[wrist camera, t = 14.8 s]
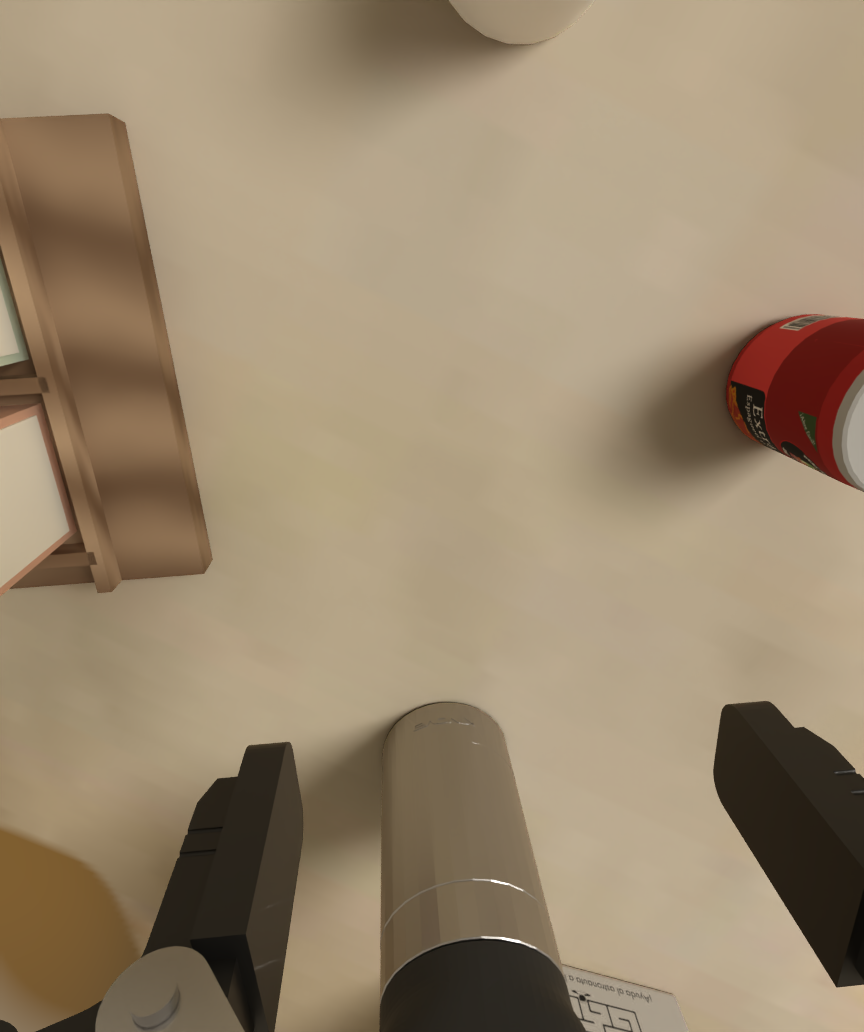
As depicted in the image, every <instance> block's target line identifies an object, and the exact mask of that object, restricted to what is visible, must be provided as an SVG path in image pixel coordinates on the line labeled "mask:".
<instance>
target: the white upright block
mask: <svg viewBox="0 0 864 1032" xmlns="http://www.w3.org/2000/svg"><path fill="white" fill-rule="evenodd" d="M448 1H449V2H450V3H451V5H452V6H453V7H454V8H455V10H456V11H457V12H458V13H459V15H460V16H461V17H462V19H463V20H464V21H465V22H466V23H468V24H469V25H470V26H472V27H473V28H475V29H476V30H477V31H479V32H480V33H481V34H483V35H484V36H486V37H489V38H492V39H495V40H498V41H500V42H503V43H506V44H534V43H537V42H541V41H544V40H547V39H551V38H554V37H556V36H557V35H559V34H560V33H562V32H563V31H565V30H566V29H568V28H569V27H571V26H572V25H574V24H575V23H576V22H577V21H578V20H579V19H580V18H581V16H582V15H583V14H584V13H585V12H586V11H587V10H588V9H589V7H590V6H591V5H592V4H593V3H594V2H595V0H448Z"/></svg>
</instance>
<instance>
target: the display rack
mask: <svg viewBox="0 0 864 1032" xmlns="http://www.w3.org/2000/svg"><path fill="white" fill-rule="evenodd" d="M0 258H1V262H2V265H3V269H4V272H5V276H6V279H7V283H8V286H9V290H10V293H11V297H12V300H13V304H14V307H15V311H16V314H17V318H18V321H19V325H20V328H21V332H22V336H23V339H24V343H25V346H26V350H27V353H28V357H29V359H28V360H24V361H20V362H16V363H12V364H8V365H4V366H0V406H6V405H21V404H36V403H41V406H42V409H43V413H44V416H45V420H46V423H47V427H48V430H49V434H50V437H51V441H52V444H53V448H54V452H55V455H56V459H57V462H58V466H59V469H60V473H61V476H62V480H63V483H64V487H65V491H66V494H67V498H68V501H69V505H70V508H71V512H72V515H73V519H74V522H75V526H76V529H77V532H76V533H74V534H73V535H72V536H71V537H70V538H68V539H67V540H66V541H65V542H64V543H63V544H61V545H60V546H59V547H58V548H57V549H55V550H54V551H53V552H52V553H51V554H50V555H48V556H47V557H46V558H45V559H44V560H42V561H41V562H40V563H39V564H38V565H37V566H35V567H34V568H33V569H32V570H31V571H29V572H28V573H27V574H26V575H25V576H24V577H22V578H21V579H20V580H19V581H18V582H17V583H15V584H14V585H13V586H12V587H11V588H9V589H13V588H26V587H39V586H52V585H65V584H78V583H91V582H95V585H96V588H97V592H98V593H105V592H112V591H113V590H114V589H115V588H116V586H117V585H118V584H119V583H120V582H121V581H122V580H130V579H143V578H156V577H169V576H182V575H195V574H204V573H205V571H206V570H207V568H208V566H209V565H210V563H211V561H212V560H213V559H212V554H211V549H210V544H209V539H208V534H207V529H206V524H205V519H204V514H203V510H202V505H201V500H200V495H199V490H198V485H197V480H196V475H195V470H194V465H193V460H192V455H191V450H190V445H189V440H188V435H187V430H186V425H185V420H184V415H183V410H182V405H181V400H180V395H179V390H178V385H177V380H176V375H175V370H174V365H173V360H172V355H171V350H170V345H169V340H168V335H167V330H166V325H165V320H164V315H163V310H162V305H161V300H160V295H159V290H158V285H157V280H156V275H155V270H154V265H153V260H152V255H151V250H150V245H149V240H148V235H147V230H146V225H145V220H144V215H143V210H142V205H141V200H140V195H139V190H138V185H137V180H136V175H135V170H134V165H133V160H132V155H131V150H130V145H129V140H128V135H127V130H126V125H125V122H123V121H121V120H119V119H117V118H116V117H114V116H112V115H110V114H89V115H68V116H47V117H25V118H4V119H1V118H0Z"/></svg>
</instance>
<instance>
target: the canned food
mask: <svg viewBox="0 0 864 1032" xmlns="http://www.w3.org/2000/svg"><path fill="white" fill-rule="evenodd" d="M726 400H727V405H728V410H729V412H730V414H731V416H732V418H733V420H734V422H735V423H736V425H737V426H738V427H739V429H740V430H741V431H742V432H743V433H744V434H745V435H746V436H748V437H749V438H750V439H752V440H754V441H756V442H758V443H760V444H762V445H765V446H767V447H769V448H771V449H773V450H775V451H777V452H779V453H781V454H783V455H785V456H788V457H790V458H792V459H794V460H796V461H798V462H800V463H802V464H804V465H806V466H808V467H811V468H813V469H815V470H817V471H819V472H821V473H823V474H825V475H827V476H829V477H832V478H834V479H836V480H838V481H840V482H842V483H844V484H847V485H849V486H851V487H854V488H856V489H858V490H860V491H863V492H864V319H858V318H848V317H838V316H828V315H818V314H810V315H800V316H795V317H791V318H788V319H785V320H783V321H780V322H778V323H775V324H773V325H771V326H769V327H768V328H766V329H764V330H763V331H761V332H760V333H758V334H757V335H756V336H755V337H754V338H753V339H751V340H750V341H749V342H748V344H747V345H746V346H745V347H744V348H743V349H742V351H741V352H740V353H739V355H738V357H737V358H736V360H735V362H734V363H733V366H732V369H731V371H730V374H729V377H728V382H727V387H726Z"/></svg>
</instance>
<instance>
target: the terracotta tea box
mask: <svg viewBox="0 0 864 1032" xmlns="http://www.w3.org/2000/svg"><path fill="white" fill-rule="evenodd" d="M76 532H77V529H76V526H75V522H74V519H73V515H72V512H71V508H70V505H69V501H68V498H67V494H66V491H65V487H64V483H63V480H62V476H61V473H60V469H59V466H58V462H57V459H56V455H55V452H54V448H53V444H52V441H51V437H50V434H49V430H48V427H47V423H46V420H45V416H44V413H43V409H42V406H41V403H36V404H21V405H6V406H0V596H1V595H2V594H4V593H5V592H6V591H7V590H8V589H9V588H11V587H12V586H13V585H14V584H15V583H17V582H18V581H19V580H20V579H21V578H22V577H24V576H25V575H26V574H27V573H28V572H29V571H31V570H32V569H33V568H34V567H35V566H37V565H38V564H39V563H40V562H41V561H42V560H44V559H45V558H46V557H47V556H48V555H50V554H51V553H52V552H53V551H54V550H55V549H57V548H58V547H59V546H60V545H61V544H63V543H64V542H65V541H66V540H67V539H68V538H70V537H71V536H72V535H73V534H74V533H76Z"/></svg>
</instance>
